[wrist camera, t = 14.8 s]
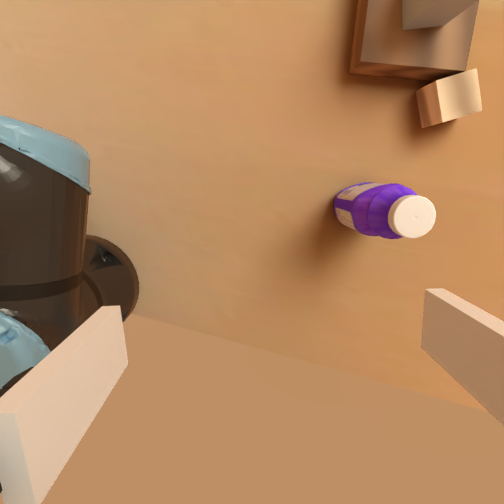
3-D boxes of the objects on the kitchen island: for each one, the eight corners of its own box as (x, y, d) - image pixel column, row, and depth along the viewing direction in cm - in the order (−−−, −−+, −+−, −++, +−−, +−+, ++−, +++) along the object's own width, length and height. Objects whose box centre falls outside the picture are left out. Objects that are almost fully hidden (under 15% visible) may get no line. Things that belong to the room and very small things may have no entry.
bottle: (335, 229, 49) (385, 256, 32) (326, 192, 47) (372, 199, 30) (383, 215, 48) (459, 235, 31) (375, 177, 47) (449, 176, 30)
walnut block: (347, 74, 45) (360, 61, 40) (361, -38, 42) (377, -67, 37) (441, 82, 45) (465, 70, 40) (461, -27, 42) (489, -54, 37)
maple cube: (421, 128, 46) (442, 122, 41) (415, 91, 45) (436, 80, 40) (456, 117, 46) (482, 110, 41) (451, 80, 45) (476, 68, 40)
